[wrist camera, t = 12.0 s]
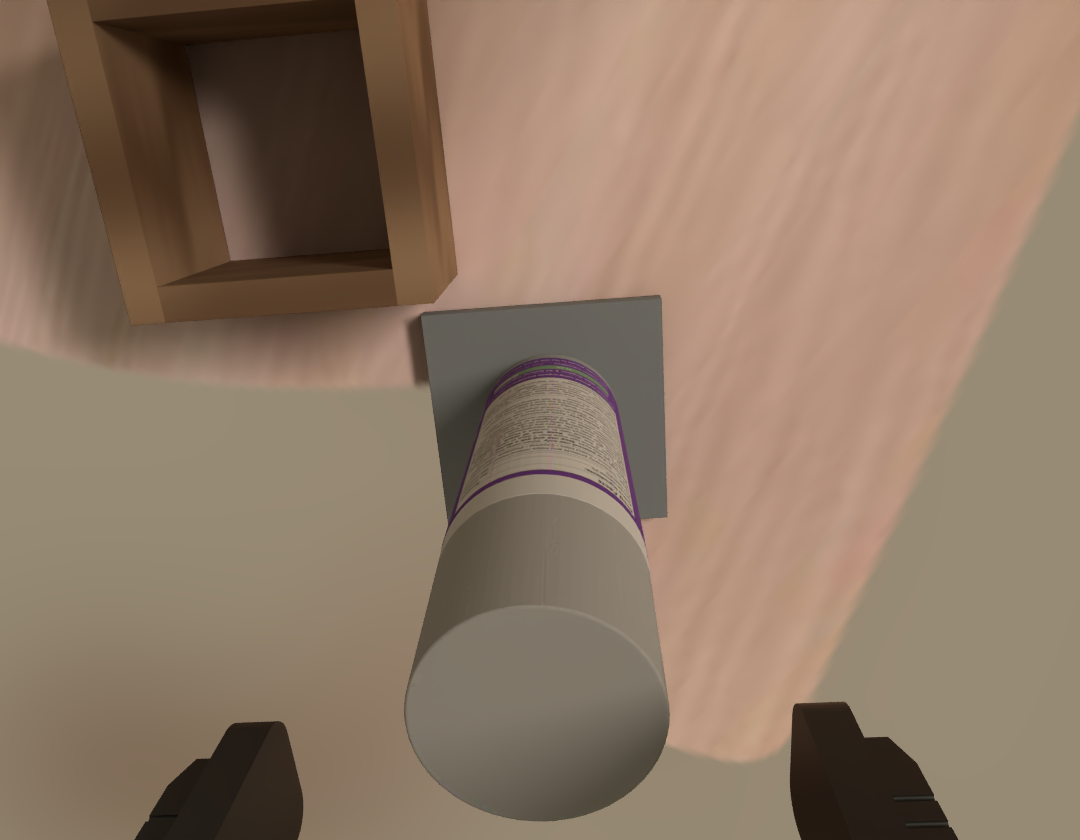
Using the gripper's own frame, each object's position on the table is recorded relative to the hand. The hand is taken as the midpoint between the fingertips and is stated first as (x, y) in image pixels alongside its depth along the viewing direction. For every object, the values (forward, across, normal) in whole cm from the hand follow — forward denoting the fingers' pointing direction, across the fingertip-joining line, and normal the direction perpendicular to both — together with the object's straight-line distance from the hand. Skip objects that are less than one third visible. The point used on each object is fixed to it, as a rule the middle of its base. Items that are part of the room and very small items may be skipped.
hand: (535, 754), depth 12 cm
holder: (+16, +7, -9) cm, 20 cm away
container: (+16, 0, 0) cm, 16 cm away
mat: (+16, 0, 0) cm, 16 cm away
